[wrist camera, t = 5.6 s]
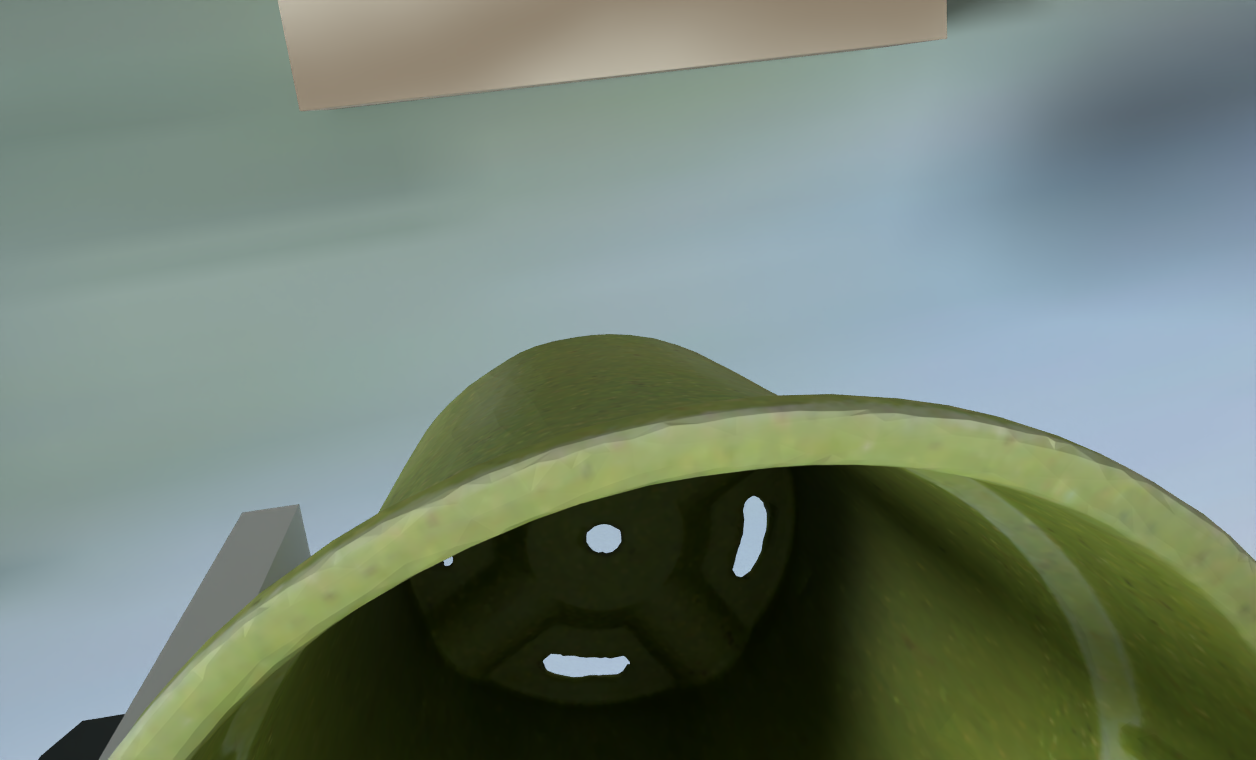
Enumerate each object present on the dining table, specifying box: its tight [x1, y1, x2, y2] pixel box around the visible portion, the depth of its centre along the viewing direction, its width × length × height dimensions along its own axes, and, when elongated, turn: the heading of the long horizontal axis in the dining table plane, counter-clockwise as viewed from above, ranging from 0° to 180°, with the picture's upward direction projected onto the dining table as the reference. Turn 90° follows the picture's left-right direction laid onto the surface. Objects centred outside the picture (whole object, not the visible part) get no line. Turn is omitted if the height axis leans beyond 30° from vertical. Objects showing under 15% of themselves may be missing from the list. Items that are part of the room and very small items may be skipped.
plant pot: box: [107, 334, 1256, 760], centre depth 11 cm, size 9×9×9 cm
